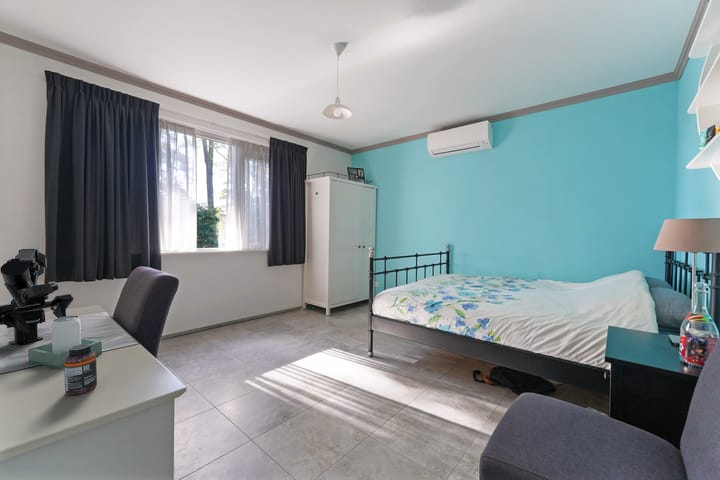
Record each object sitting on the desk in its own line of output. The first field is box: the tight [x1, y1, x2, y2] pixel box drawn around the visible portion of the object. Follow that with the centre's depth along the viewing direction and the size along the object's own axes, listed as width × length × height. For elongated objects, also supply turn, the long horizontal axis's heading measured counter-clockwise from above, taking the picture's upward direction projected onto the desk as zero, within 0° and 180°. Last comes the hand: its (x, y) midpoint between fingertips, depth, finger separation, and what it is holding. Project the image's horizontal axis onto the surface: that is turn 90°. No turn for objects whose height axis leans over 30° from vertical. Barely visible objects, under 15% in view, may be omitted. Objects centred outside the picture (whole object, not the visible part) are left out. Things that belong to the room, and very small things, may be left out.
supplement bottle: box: [63, 344, 98, 396], centre depth 76 cm, size 6×6×11 cm
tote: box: [27, 337, 103, 370], centre depth 95 cm, size 14×12×4 cm
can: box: [51, 315, 82, 354], centre depth 94 cm, size 6×6×12 cm
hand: (48, 327), depth 96 cm, fingers open, 9 cm apart
